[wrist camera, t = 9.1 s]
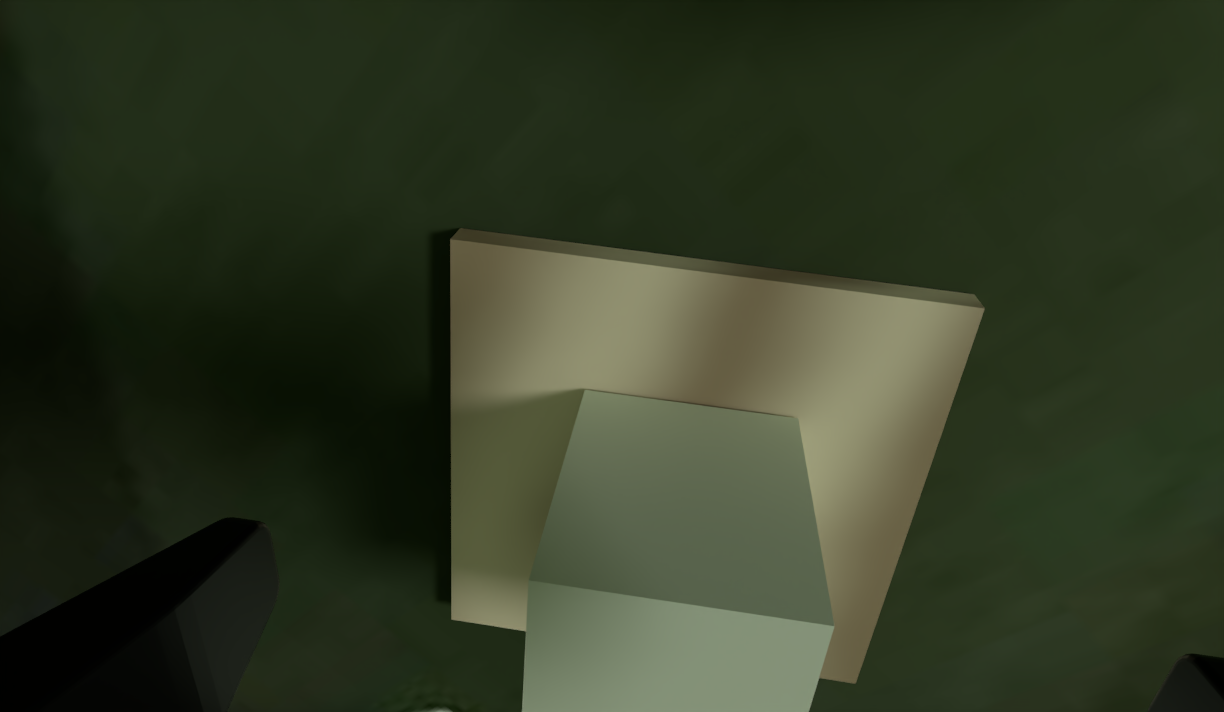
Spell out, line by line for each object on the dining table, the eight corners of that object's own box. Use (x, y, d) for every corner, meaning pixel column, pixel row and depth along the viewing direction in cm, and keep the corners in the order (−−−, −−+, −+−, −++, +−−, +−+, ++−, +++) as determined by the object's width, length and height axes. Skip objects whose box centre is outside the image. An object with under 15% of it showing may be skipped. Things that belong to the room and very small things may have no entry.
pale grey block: (798, 418, 19) (834, 626, 13) (760, 580, 21) (777, 816, 16) (585, 389, 19) (528, 580, 14) (571, 551, 22) (518, 772, 16)
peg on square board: (974, 294, 18) (1105, 471, 12) (851, 661, 24) (898, 909, 18) (459, 228, 19) (337, 363, 13) (459, 599, 24) (374, 817, 18)
